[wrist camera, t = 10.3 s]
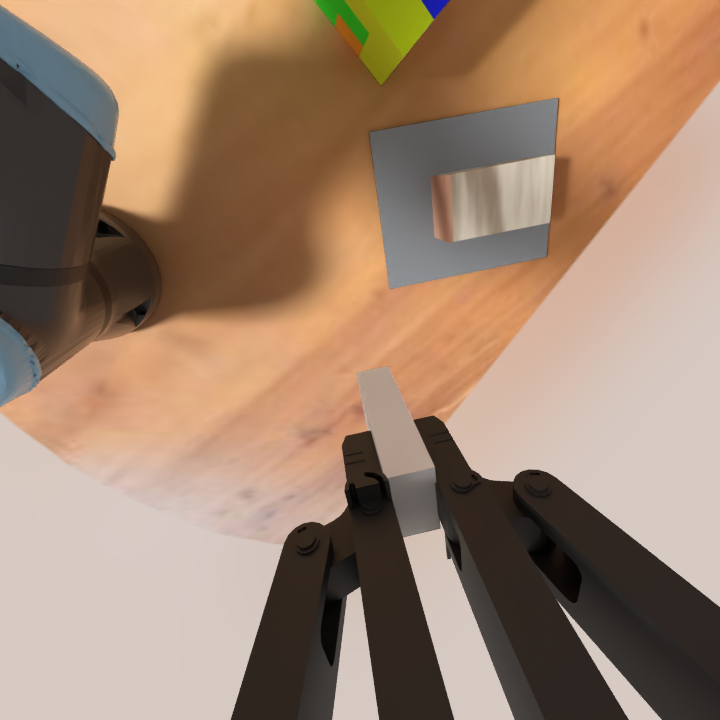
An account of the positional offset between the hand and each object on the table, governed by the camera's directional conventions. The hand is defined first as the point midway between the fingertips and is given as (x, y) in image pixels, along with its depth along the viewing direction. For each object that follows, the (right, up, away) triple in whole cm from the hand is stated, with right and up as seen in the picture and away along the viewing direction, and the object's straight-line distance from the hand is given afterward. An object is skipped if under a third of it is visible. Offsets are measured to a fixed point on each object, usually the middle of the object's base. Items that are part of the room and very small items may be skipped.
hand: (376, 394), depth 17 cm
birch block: (+8, +19, +25) cm, 33 cm away
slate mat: (+12, +21, +28) cm, 37 cm away
